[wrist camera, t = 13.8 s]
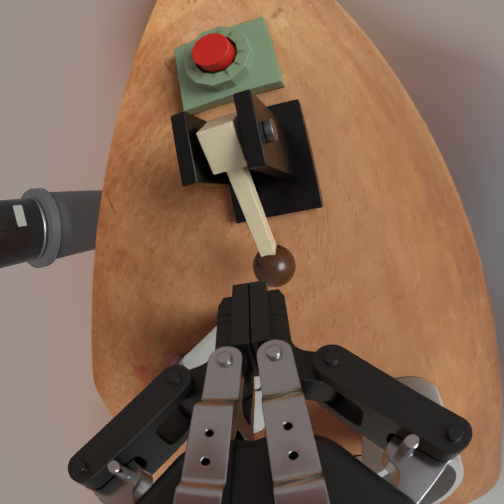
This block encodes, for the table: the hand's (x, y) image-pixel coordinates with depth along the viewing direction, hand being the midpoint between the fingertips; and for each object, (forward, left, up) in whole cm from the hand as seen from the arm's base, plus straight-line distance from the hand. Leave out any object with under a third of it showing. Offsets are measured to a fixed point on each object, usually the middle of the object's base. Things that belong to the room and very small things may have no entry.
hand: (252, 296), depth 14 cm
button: (-3, +19, -12) cm, 23 cm away
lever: (-1, +5, -8) cm, 9 cm away
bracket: (-1, +8, -15) cm, 17 cm away
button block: (-3, +19, -15) cm, 25 cm away
